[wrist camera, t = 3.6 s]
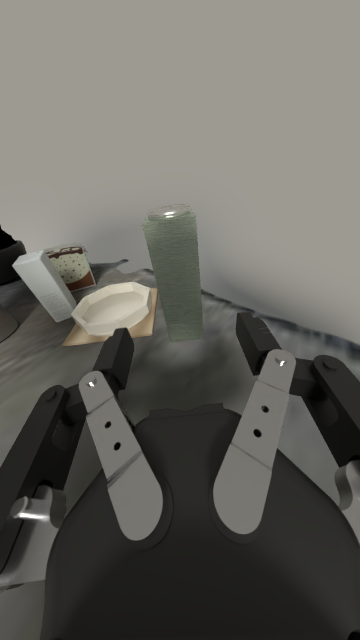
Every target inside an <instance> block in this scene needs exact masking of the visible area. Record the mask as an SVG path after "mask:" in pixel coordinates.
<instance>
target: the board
mask: <svg viewBox="0 0 360 640" xmlns="http://www.w3.org/2000/svg"><path fill="white" fill-rule="evenodd" d="M150 291H151V294H152V299H151V303H152V308H151V311H150V313H149V314H148V316H147V317H146V318H145V319H144V320H143V321H142V322H141V323H139V324H138V325H137V326H135V327H133V328H131V329H130V330H128V331H129V333H130V335H131V338H135V337H143V336H151V335H153V327H154V318H155V310H156V302H157V294H158V288H153V289H150ZM112 336H113V335H112ZM108 338H109V336H105V337H97V336H92V335H88V334H87V333H85V332H84V331H83V330H82V328H81V327H80V326H79V325H78V324H77V323H76V324H75V326H74V327H73V329H72V330H71V332H70V333H69V335H68V337H67V338H66V340H65V341H64V343H63V344H62V346H63V347H64V346H72V345H80V344H87V343H95V342H103V341H106V340H107V339H108Z"/></svg>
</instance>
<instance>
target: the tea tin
mask: <svg viewBox="0 0 360 640" xmlns="http://www.w3.org/2000/svg"><path fill="white" fill-rule="evenodd" d="M142 226H143V230H144V233H145V238H146V242H147V246H148V250H149V254H150V258H151V263H152V267H153V271H154V275H155V279H156V283H157V287H158V291H159V295H160V300H161V304H162V308H163V312H164V316H165V320H166V324H167V328H168V332H169V337H170V341H171V342H177V341H185V340H193V339H201V338H204V331H203V316H202V301H201V287H200V272H199V257H198V242H197V228H196V216H195V214H194V212H193V211H192V209H190V205H188V204H180V205H171V206H165V207H161V208H156V209H152V210H150V211H147V217H146V219H145V220H144V222H143V224H142Z"/></svg>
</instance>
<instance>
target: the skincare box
mask: <svg viewBox="0 0 360 640" xmlns="http://www.w3.org/2000/svg"><path fill="white" fill-rule="evenodd" d="M12 267H13V268H14V269H15V271H16V272H17V273H18V274H19V276H20V277H21V278H22V279H23V281H24V282H25V283H26V285H27V286H28V287H29V289H30V290H31V291H32V292H33V294H34V295H35V296H36V298H37V299H38V300H39V301H40V303H41V304H42V305H43V306H44V308H45V309H46V310H47V312H48V313H49V314H50V315H51V317H52V318H53V319H54V320H55V322H60V321H63V320H65V319H68V318H71V317H72V316H71V313H72V312H73V311H74V309H75V308H76V307H77V305H76V301H75V299H74V298H73V296H72V294H71V293H70V291H69V290H68V288H67V286H66V285H65V283H64V282H63V280H62V278H61V277H60V275H59V274H58V272H57V270H56V269H55V267H54V266H53V264H52V262H51V261H50V259H49V257H48V256H47V254H46V253H45V251H44V250H42V251H38V252H34V253H30V254H25V255H22V256H19V257H18V259H17V260H16V261H15V262H14V264H13V265H12Z"/></svg>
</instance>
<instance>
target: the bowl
mask: <svg viewBox="0 0 360 640" xmlns="http://www.w3.org/2000/svg"><path fill="white" fill-rule="evenodd" d="M151 299H152V294H151V291H150V288H148V287H145V286H143V285H140V284H138V283H135V282H128V283H121V284H114V285H108V286H106V287H104V288H102V289H100V290H98V291H96V292H94V293H92V294H90V295H87V296H85V297H83V299H82V300H81V301H80V303H79V304H78V305H77V307H76V308H75V309H74V311H73V312H72V313H71V316H72V317H73V319H74V320H75V322H76V323H77V324H78V325H79V326H80V327H81V328H82V330H83V331H84V332H85V333H87V334H88V335H92V336H97V337H105V336H112V335H113V333H114V331H115V329H117V328H125V327H126V328H127V329H128V330H130V329H131V328H133V327H135V326H137V325H138V324H139V323H141V322H142V321H143V320H144V319H145V318H146V317H147V316H148V314H149V313H150V311H151V308H152V303H151Z"/></svg>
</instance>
